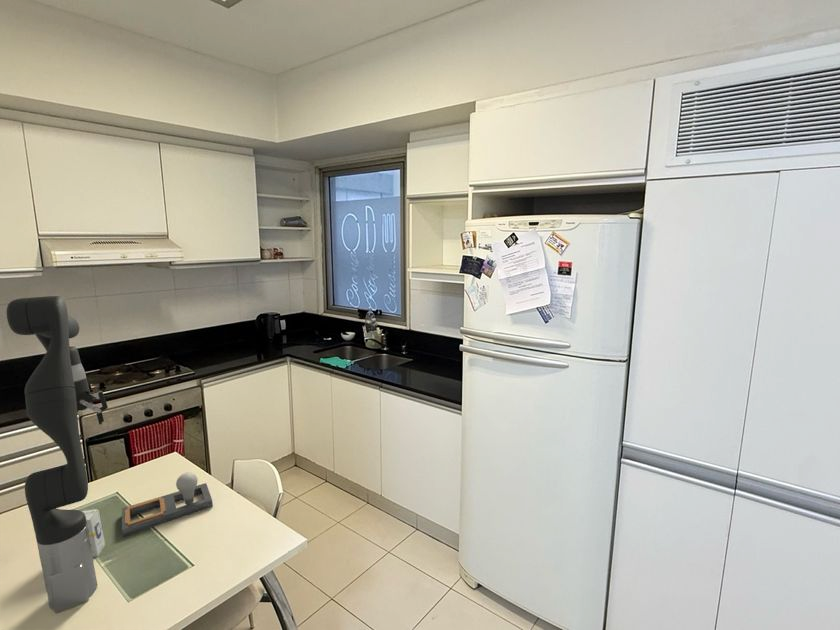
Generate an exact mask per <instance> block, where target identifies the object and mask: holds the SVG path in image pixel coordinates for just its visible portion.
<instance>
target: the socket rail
mask: <svg viewBox="0 0 840 630" xmlns="http://www.w3.org/2000/svg"><path fill="white" fill-rule="evenodd" d="M200 495H201V497H202V499H200V500H198V501H194V502H193V503H191V504H188V505H186V504H185V505H181V506H179V507H177V506H176V503H178V502H180V501H181V502H182V501H185V500H184V498H183V495H182V493H181V492H180V491H179V490H178V491H175V492H171V493H168V494H165V495H162V496H159V497H155V498H153V499H149V500H145V501H143V502H140V503H135V504H132V505H129V506H128V505H127V506H126V507H122V508H121V531H122V537H123V538H125V537H127V536H130V535H133V534H136V533H140V532H143V531H145V530H148V529H151V528H154V527H157V526H160V525H163V524H165V523H169V522H172V521H175V520H179V519H181V518H184V517H187V516H190V515H192V514H193V515H194V514H196V513H200V512H202V511H205V510H208V509H211V508H213V507H214V504H213V497H212V496H211V493H210V489H209V487H208V484H207V482H204V483H202V484H197V485H196V487H195V490H194V497H197V496H200ZM159 508H160V511H159V512H157V513H155V514H151V515H147V516H145V517H142V518H141V517H140V518H138V519H136V520H135V519H134V520H133V521H132V517H134V516H137V515H140V514H143V513H146V512H150V511H153V510H157V509H159Z"/></svg>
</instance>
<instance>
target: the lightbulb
mask: <svg viewBox="0 0 840 630" xmlns="http://www.w3.org/2000/svg"><path fill="white" fill-rule="evenodd" d="M198 481H199V480H198V477H197V475H196V474H195V473H193V472H189V471H188V472H184V473H181V474H180V475H179V476H178V478H177V480H176V482H175V486H176V489H177V490H178V491H180V492H181V493H182V495H183V498H184V500H183V501H184V503H185V505H188V504H191V503H194V502H195V501H194V500H195V499H194V497H195V496H194V490H195V487H196V486H198Z"/></svg>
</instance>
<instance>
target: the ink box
mask: <svg viewBox="0 0 840 630" xmlns="http://www.w3.org/2000/svg"><path fill="white" fill-rule="evenodd" d="M81 511H82V512H83V513H84V514H85V516H86V521H87V527H88V533H89V539H90V545H91V551H92V557H93V558H95V557H99V555H100V554H101V552H102V551H103V549H104V548H105V545H106V542H105V536H104V532H103V527H102V521H101V517H100V510H99V509H96V508H95V509H87V510H81Z"/></svg>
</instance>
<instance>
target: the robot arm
mask: <svg viewBox="0 0 840 630" xmlns="http://www.w3.org/2000/svg"><path fill="white" fill-rule="evenodd" d="M67 307H68V306H67V304H66V301H65V300H64V298H63V297H61V296H58V295H49V296H46V295H45V296H34V297H22V298H15V299H13V300H11V301H10V302H9V303H7V307H6V320H7V323H8V326H9V328H10V330H11V331H12V332H13V333H14V334H16V335H20V336H31V335H32V336H33V335H35V336H36V338H37V340H39V342H40V343H41V345H42V346H43V347H44V349H45V351H46V352H45V354H44V356H43V358H42V360H41V361H40V362H39V364H38V365H37V367H35V369H34V371H33V372H32V374H31V375H30V376H29V378H28V380H27V381H26V384H25V387H24V397H25V398H24V399H25V407H26V409H25V410H26V415H27V417H28V418H29V420H30V421H31V422H32V423H33V424H34V425H35V426H36V427H37V428H38V429H39V430H40V431H41V432H42V433H44V434H45V435H47V436H48V438H50V439H51V440H52V441H53V442H54V443H55V444H56V445H57V447H58V448H59V449H60V451H61V452H62V454H63V455H64V458H65V459H66V464H63V465H58V466H55V467H51V468H48V469H47V468H46V469H42V470H40V471H36V472H32V473H30V474H29V475H28V476H27V478H26V480H25V482H24V494H25V500H26V504H27V506H28V511H29V513H30V517H31V521H32V525H33V530H34V533H35V534H34V535H35V538H36V545H37V549H38V556H39V560H40V565H41V570H42V576H43V580H44V586H45V591H46V594H47V595H46V596H47V600H48V605H49V608H50V609H52V610H54V613H56V614H57V613H58V614H59V613H60V612H62V611H65V610H68V609H70V608H73V607H75V606H78V605H80V604H83V603H86V602H88V601H89V599H90V597H91V596H92V595H93V594H94V593H95V591H97V588H98V580H97V575H96V574H97V573H96V570H95V563H94V557H92V551H91V545H90V539H89V533H88V527H87V521H86V516H85V514H84V513H83V512H82V511H83V510H79V509H63V508H62V507H65V506H69V505H72V504H75V503H80V502H81V501H83V500H85V499H86V497H88V491H89V481H88V475H87V469H86V463H85V458H84V453H83V447H82V443H81V437H80V428H79V418H78V412H79V411H84V410H85V411H86V409H90V410H92V411H94V412H95V413H96V416H97V420H98V425H103V422H104V415H103V411H105V410H107V409H109V407H108V403H107V400H106V397H105V395H104V391H102V390H100V391H98V392H96V393H95V392H94V393H92V392H91V390H90V386H89V383H88V380H87V379H88V378H87V375H86V371H85V368H84V367H83V364H82V360H81V358H80V354H79V349H78V348H77V347H76V346H70V339H73V338H75V337H77V336H78V334H79V332H80V324H79V322H78V321H77V319H76V318H74V317H73V316H72V315H69V313H68V308H67ZM93 398H96V399H97V400H99V401H100V403H101V407H99V406H97V405H95V404H94V403H93V402H92V401H93ZM60 508H62V509H60Z"/></svg>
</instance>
